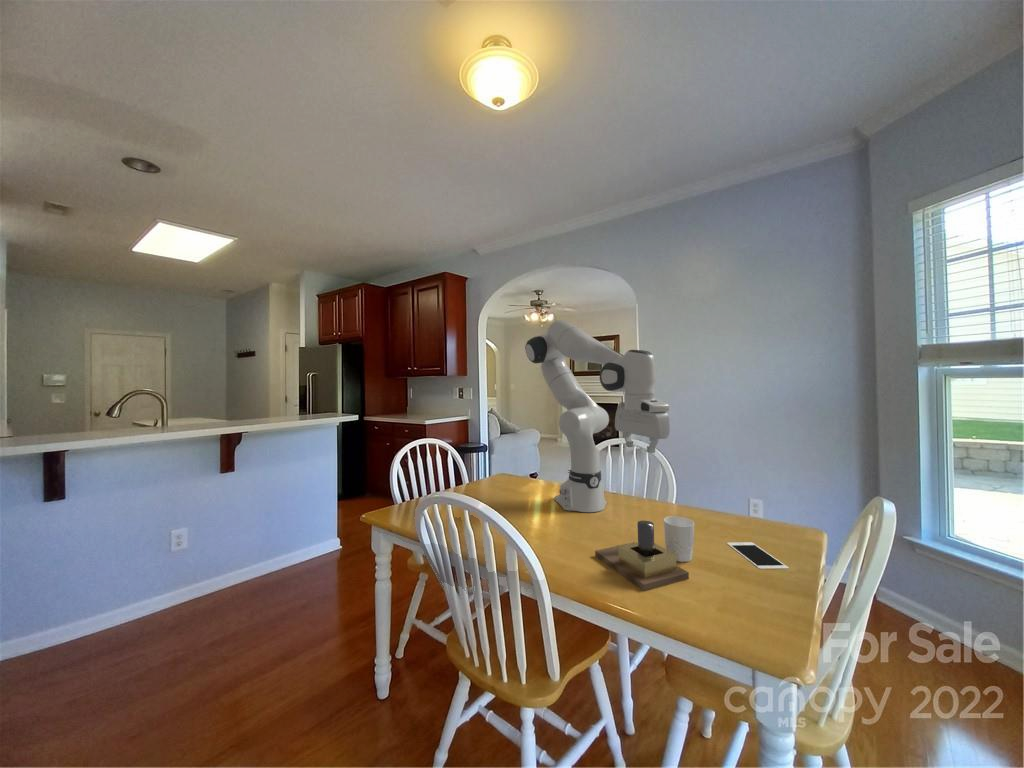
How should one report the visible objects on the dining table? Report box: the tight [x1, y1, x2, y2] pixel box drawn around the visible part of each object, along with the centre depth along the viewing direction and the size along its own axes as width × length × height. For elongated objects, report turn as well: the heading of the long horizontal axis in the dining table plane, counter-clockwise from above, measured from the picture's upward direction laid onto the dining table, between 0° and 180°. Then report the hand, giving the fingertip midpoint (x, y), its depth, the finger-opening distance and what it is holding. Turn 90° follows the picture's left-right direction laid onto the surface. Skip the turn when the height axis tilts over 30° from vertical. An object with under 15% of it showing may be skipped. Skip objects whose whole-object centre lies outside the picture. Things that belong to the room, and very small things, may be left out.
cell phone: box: [726, 541, 790, 570], centre depth 110 cm, size 8×16×1 cm, turn 0°
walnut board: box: [594, 541, 690, 592], centre depth 105 cm, size 20×14×2 cm
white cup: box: [663, 515, 695, 563], centre depth 110 cm, size 8×8×10 cm
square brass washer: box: [618, 541, 677, 579], centre depth 102 cm, size 10×10×4 cm
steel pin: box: [637, 520, 655, 558], centre depth 102 cm, size 4×4×11 cm
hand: (639, 449), depth 118 cm, fingers open, 8 cm apart
